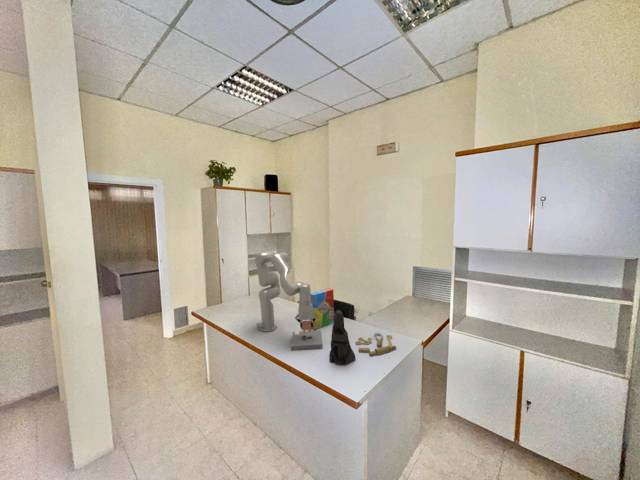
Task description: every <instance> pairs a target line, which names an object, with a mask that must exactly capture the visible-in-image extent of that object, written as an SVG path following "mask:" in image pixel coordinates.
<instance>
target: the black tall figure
mask: <svg viewBox="0 0 640 480" xmlns="http://www.w3.org/2000/svg"><path fill="white" fill-rule="evenodd" d="M332 324H333V325H332V330H331V340H330V351H329V354H328V358H329V359H328V360H329V362H330V363H332V364H335V365H337V366H347V365H349V364H351V363H353V362H355V361H356V360H357V358H356V354H355V352H354V350H353V349H352V346H351V343H350V340H349V334H348V331H347V329H346V328H345V317H344V314H343V312H342V310H341V309H336V310H335V311H334V323H332Z"/></svg>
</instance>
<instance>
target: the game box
mask: <svg viewBox="0 0 640 480" xmlns="http://www.w3.org/2000/svg"><path fill="white" fill-rule="evenodd" d="M310 293H311V303H312V305H313V312H314V313H315V314H316V315H317V316H318V317H317V319H315V321H314V322H313V327H312V329H311V330H312V331H317V330H319V329H321V328H324V327H326V326H329V325H331V324H334V315H335V307H334V306H335V303H334V302H335V301H334V289H333V288H330V287H329V288H325V289H321V290H318V291H314V292H310ZM314 317H315V316H314Z"/></svg>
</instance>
